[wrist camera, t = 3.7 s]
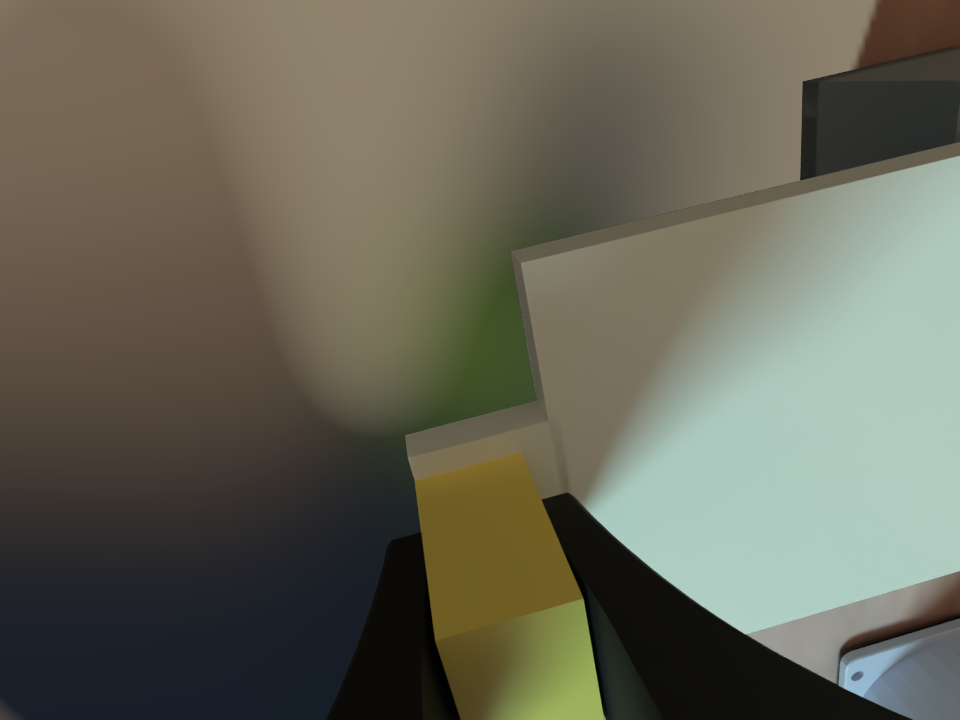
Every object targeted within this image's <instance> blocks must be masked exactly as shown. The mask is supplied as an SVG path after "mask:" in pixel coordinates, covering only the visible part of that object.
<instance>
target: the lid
mask: <svg viewBox="0 0 960 720" xmlns="http://www.w3.org/2000/svg"><path fill="white" fill-rule="evenodd" d="M511 258H512V262H513V269H514V274H515V280H516V285H517V290H518V296H519V302H520V307H521V313H522V318H523V323H524V329H525V335H526V340H527V346H528V351H529V357H530V362H531V368H532V373H533V378H534V384H535V390H536V395H537V401H535V402H532V403H528V404H524V405H520V406H516V407H512V408H508V409H505V410H501V411H497V412H493V413H490V414H486V415H482V416H478V417H474V418H470V419H466V420H463V421H459V422H455V423H451V424H448V425H443V426H440V427H436V428H432V429H428V430H425V431H421V432H417V433H413V434H409V435H406V444H407V452H408V460H409V463H410V466H411V470H412V473H413V476H414V480H415V486H416V494H417V501H418V510H419V517H420V526H421V533H422V541H423V549H424V557H425V565H426V573H427V581H428V589H429V596H430V604H431V612H432V620H433V628H434V636H435V642H436V645H437V648H438V651H439V654H440V657H441V661H442V664H443V667H444V670H445V673H446V676H447V679H448V682H449V685H450V688H451V691H452V694H453V697H454V700H455V704H456V707H457V710H458V713H459V716H460V719H461V720H604V715H603V710H602V704H601V698H600V692H599V686H598V680H597V675H596V669H595V663H594V657H593V651H592V646H591V640H590V634H589V628H588V622H587V616H586V611H585V605H584V599H583V596H582V594H581V592H580V589H579V587H578V585H577V582H576V580H575V578H574V575H573V573H572V571H571V568H570V566H569V563H568V561H567V559H566V556H565V554H564V552H563V549H562V547H561V545H560V542H559V540H558V538H557V535H556V533H555V531H554V528H553V526H552V524H551V521H550V519H549V517H548V514H547V512H546V510H545V507H544V505H543V502H542V500H541V499H545V498H549V497H552V496H556V495H560V494H564V493H567V492H568V493H569V494H571V495H573V496H574V497H575V498H576V499H577V500H578V501H579V502H580V503H581V504H582V505H583V506H584V507H585V508H586V510H587V511H588V512H589V513H590V514H591V515H592V516H593V517H594V518H595V519H596V520H598V521H599V522H600V523H601V524H602V525H603V526H604V527H605V528H606V529H607V530H608V531H609V532H610V533H611V534H612V535H613V536H614V537H616V538H617V539H618V540H619V541H620V542H621V543H622V544H623V545H625V546H626V547H627V548H628V549H629V550H630V551H632V552H633V553H634V554H635V555H636V556H638V557H639V558H640V559H641V560H642V561H644V562H645V563H646V564H647V565H648V566H649V567H651V568H652V569H653V570H654V571H656V572H657V573H658V574H659V575H661V576H662V577H663V578H665V579H666V580H667V581H668V582H670V583H671V584H672V585H674V586H675V587H677V588H678V589H679V590H681V591H682V592H683V593H685V594H686V595H687V596H689V597H690V598H691V599H693V600H694V601H696V602H697V603H698V604H700V605H701V606H703V607H704V608H706V609H707V610H709V611H710V612H711V613H713V614H714V615H716V616H717V617H719V618H721V619H722V620H724V621H725V622H727V623H728V624H730V625H731V626H733V627H735V628H736V629H738V630H739V631H741V632H742V633H744V634H749V633H752V632H755V631H759V630H762V629H765V628H769V627H772V626H776V625H779V624H782V623H786V622H789V621H793V620H796V619H799V618H803V617H806V616H809V615H813V614H816V613H820V612H823V611H826V610H830V609H833V608H836V607H840V606H843V605H847V604H850V603H853V602H857V601H860V600H863V599H867V598H870V597H874V596H877V595H880V594H884V593H887V592H890V591H894V590H897V589H901V588H904V587H907V586H911V585H914V584H917V583H921V582H924V581H928V580H931V579H934V578H938V577H941V576H944V575H948V574H951V573H955V572H958V571H960V142H957V143H953V144H949V145H945V146H941V147H937V148H933V149H929V150H925V151H920V152H916V153H912V154H908V155H904V156H900V157H896V158H892V159H888V160H883V161H879V162H875V163H871V164H867V165H863V166H859V167H855V168H851V169H846V170H842V171H838V172H834V173H830V174H826V175H822V176H818V177H813V178H809V179H805V180H801V181H797V182H793V183H789V184H785V185H781V186H776V187H773V188H768V189H765V190H760V191H756V192H752V193H748V194H744V195H739V196H735V197H732V198H727V199H723V200H719V201H715V202H711V203H707V204H703V205H699V206H694V207H690V208H686V209H682V210H678V211H674V212H670V213H665V214H662V215H657V216H653V217H649V218H645V219H641V220H637V221H633V222H628V223H624V224H620V225H616V226H612V227H608V228H604V229H600V230H596V231H591V232H587V233H583V234H579V235H575V236H571V237H567V238H563V239H558V240H554V241H550V242H546V243H542V244H538V245H534V246H530V247H526V248H521V249H518V250H513V251H511Z"/></svg>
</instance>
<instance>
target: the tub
mask: <svg viewBox="0 0 960 720" xmlns="http://www.w3.org/2000/svg"><path fill="white" fill-rule="evenodd" d="M957 142H960V45H959V46H955V47H950V48H946V49H942V50H937V51H933V52H929V53H925V54H920V55H916V56H912V57H907V58H903V59H899V60H894V61H890V62H886V63H881V64H877V65H873V66H868V67H864V68H860V69H855V70H851V71H847V72H842V73H838V74H834V75H829V76H826V77H821V78H816V79H812V80H808V81H803V95H802V137H801V178H800V181H801V180H805V179H809V178H813V177H818V176H822V175H826V174H830V173H834V172H838V171H842V170H846V169H851V168H855V167H859V166H863V165H867V164H871V163H875V162H879V161H883V160H888V159H892V158H896V157H900V156H904V155H908V154H912V153H916V152H920V151H925V150H929V149H933V148H937V147H941V146H945V145H949V144H953V143H957Z"/></svg>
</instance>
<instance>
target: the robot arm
mask: <svg viewBox="0 0 960 720" xmlns="http://www.w3.org/2000/svg"><path fill="white" fill-rule="evenodd" d="M541 500H542V502H543V505H544V507H545V510H546V512H547V514H548V517H549V519H550V521H551V524H552V526H553V528H554V531H555V533H556V535H557V538H558V540H559V542H560V545H561V547H562V549H563V552H564V554H565V556H566V559H567V561H568V563H569V566H570V568H571V571H572V573H573V575H574V578H575V580H576V582H577V585H578V587H579V589H580V592H581V594H582V596H583V599H584V605H585V611H586V616H587V622H588V628H589V634H590V640H591V646H592V651H593V657H594V663H595V669H596V675H597V680H598V686H599V692H600V698H601V704H602V710H603V714H604V716H605V718H606V720H960V618H959V619H956V620H952V621H949V622H946V623H942V624H939V625H936V626H933V627H929V628H926V629H923V630H919V631H916V632H913V633H909V634H906V635H903V636H899V637H896V638H893V639H889V640H886V641H883V642H880V643H876V644H873V645H870V646H866V647H863V648H860V649H856V650H853V651H850V652H848V653H847V654H845V655H844V656H843V657H842V659H841V662H840V672H839V685H837V684H835V683H833V682H831V681H829V680H827V679H825V678H823V677H821V676H820V675H818V674H816V673H814V672H812V671H810V670H808V669H806V668H804V667H802V666H800V665H799V664H797V663H795V662H793V661H791V660H789V659H787V658H785V657H783V656H781V655H780V654H778V653H776V652H774V651H773V650H771V649H769V648H768V647H766V646H764V645H763V644H761V643H759V642H757V641H756V640H754V639H752V638H751V637H749V636H747V635H746V634H744V633H742V632H741V631H739V630H738V629H736V628H735V627H733V626H731V625H730V624H728V623H727V622H725V621H724V620H722V619H721V618H719V617H717V616H716V615H714V614H713V613H711V612H710V611H709V610H707V609H706V608H704V607H703V606H701V605H700V604H698V603H697V602H696V601H694V600H693V599H691V598H690V597H689V596H687V595H686V594H685V593H683V592H682V591H681V590H679V589H678V588H677V587H675V586H674V585H672V584H671V583H670V582H668V581H667V580H666V579H665V578H663V577H662V576H661V575H659V574H658V573H657V572H656V571H654V570H653V569H652V568H651V567H649V566H648V565H647V564H646V563H645V562H644V561H642V560H641V559H640V558H639V557H638V556H636V555H635V554H634V553H633V552H632V551H630V550H629V549H628V548H627V547H626V546H625V545H623V544H622V543H621V542H620V541H619V540H618V539H617V538H616V537H614V536H613V535H612V534H611V533H610V532H609V531H608V530H607V529H606V528H605V527H604V526H603V525H602V524H601V523H600V522H599V521H598V520H596V519H595V518H594V517H593V516H592V515H591V514H590V513H589V512H588V511H587V510H586V508H585V507H584V506H583V505H582V504H581V503H580V502H579V501H578V500H577V499H576V498H575V497H574V496H573V495H571V494H569V493H568V492H567V493H564V494H560V495H556V496H552V497H549V498H545V499H541ZM326 720H461V719H460V716H459V713H458V710H457V707H456V704H455V700H454V697H453V694H452V691H451V688H450V685H449V682H448V679H447V676H446V673H445V670H444V667H443V664H442V661H441V657H440V654H439V651H438V648H437V645H436V642H435V636H434V628H433V620H432V612H431V604H430V596H429V589H428V581H427V573H426V565H425V557H424V549H423V541H422V533H421V532H420V533H416V534H412V535H409V536H405V537H401V538H398V539H394V540H391V542H390V543H389V544H388V546H387V549H386V554H385V559H384V563H383V567H382V571H381V575H380V578H379V582H378V585H377V589H376V592H375V596H374V599H373V602H372V605H371V608H370V611H369V614H368V617H367V620H366V623H365V625H364V628H363V631H362V634H361V637H360V640H359V643H358V645H357V648H356V650H355V653H354V656H353V658H352V660H351V663H350V665H349V667H348V670H347V672H346V675H345V677H344V680H343V682H342V684H341V687H340V689H339V692H338V694H337V696H336V699H335V701H334V703H333V705H332V707H331V709H330V711H329V714H328V716H327V718H326Z"/></svg>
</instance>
